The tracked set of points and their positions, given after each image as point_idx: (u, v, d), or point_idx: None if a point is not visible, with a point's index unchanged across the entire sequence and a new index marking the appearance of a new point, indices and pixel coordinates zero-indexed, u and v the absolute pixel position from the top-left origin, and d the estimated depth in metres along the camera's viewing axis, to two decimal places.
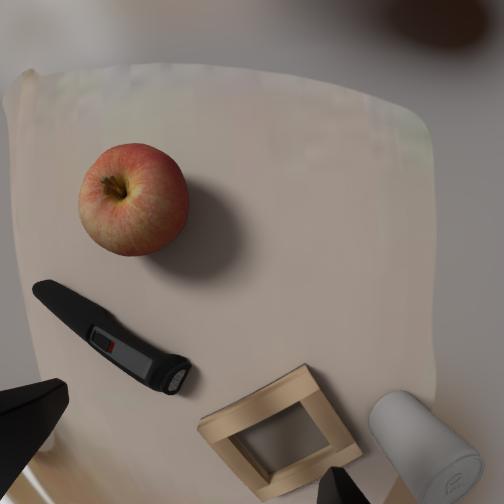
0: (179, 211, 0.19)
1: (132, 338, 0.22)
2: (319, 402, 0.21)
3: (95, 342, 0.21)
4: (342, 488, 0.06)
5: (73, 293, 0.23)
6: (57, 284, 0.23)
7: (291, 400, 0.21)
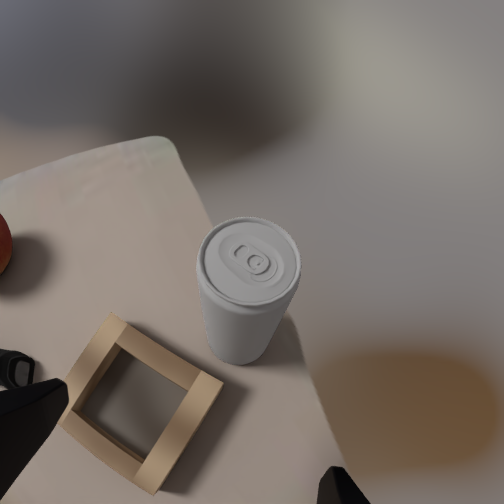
0: (0, 231, 0.21)
1: None
2: (134, 337, 0.20)
3: None
4: (342, 488, 0.06)
5: None
6: None
7: (107, 344, 0.20)
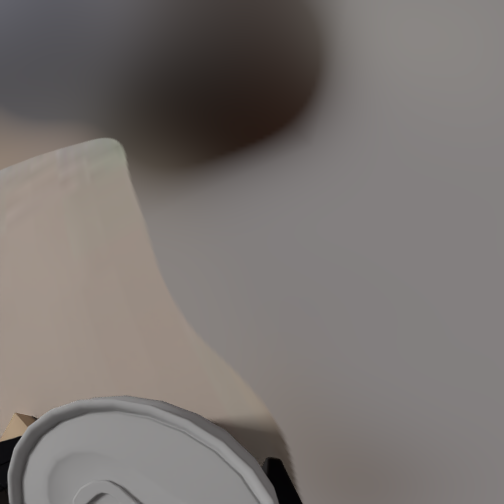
0: None
1: None
2: None
3: None
4: (273, 480, 0.06)
5: None
6: None
7: None
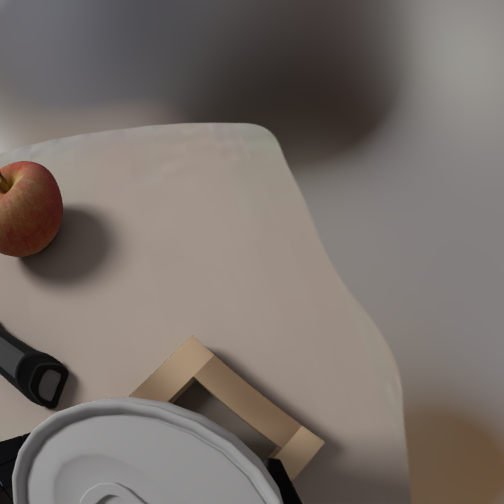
0: (50, 198, 0.18)
1: (11, 335, 0.16)
2: (221, 374, 0.16)
3: None
4: None
5: None
6: None
7: (182, 377, 0.16)
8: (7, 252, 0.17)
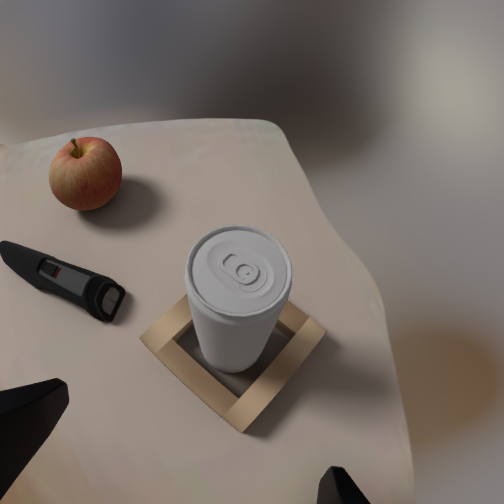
0: (116, 163, 0.27)
1: (76, 266, 0.24)
2: None
3: (44, 270, 0.22)
4: (342, 488, 0.06)
5: (32, 249, 0.25)
6: (20, 245, 0.25)
7: None
8: (76, 204, 0.26)
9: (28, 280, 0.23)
